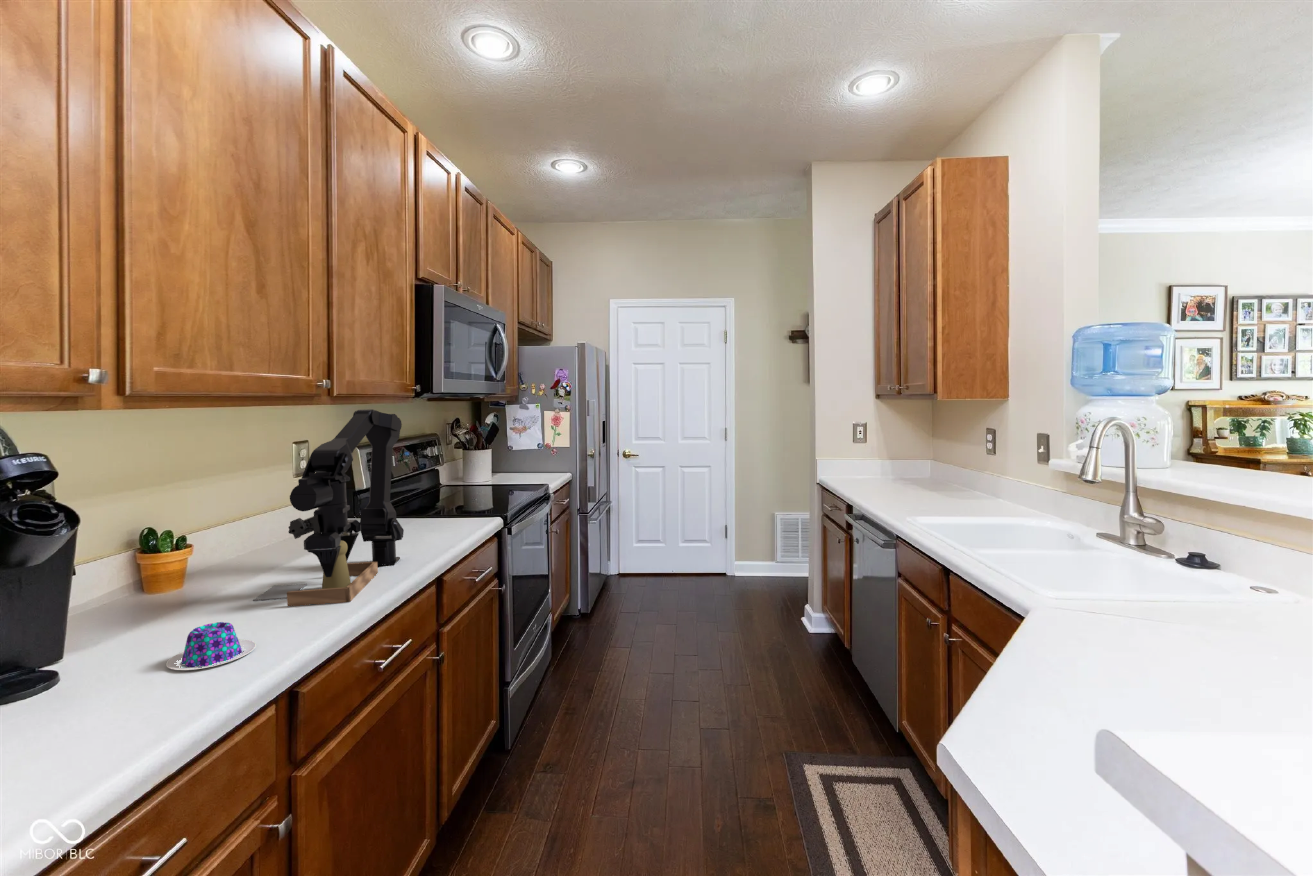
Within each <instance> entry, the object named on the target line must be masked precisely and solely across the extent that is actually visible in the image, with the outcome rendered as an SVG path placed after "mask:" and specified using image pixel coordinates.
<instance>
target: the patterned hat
mask: <svg viewBox="0 0 1313 876" xmlns="http://www.w3.org/2000/svg"><path fill="white" fill-rule="evenodd" d="M243 645H244V646H243ZM241 647H244V649H246V650H245V651H244V652H243V649H242V648H241ZM256 647H257V644H256V642H255V641H253V640H250V639H245V638H244V639H239V638H238V635H237V632H236V630H235V628H234V626H233V624H232V623H230V622H223V621H220V622H214V623H207V624H203V625H201V626H197V627H195V628H193V629H192V630H191V631H190V632H189V633H188V635H187V637H186V641H185V647H184V650H183V651H181V652H179V653H177V654H175V655H173V656H172V657H170V658H169V659H168V660H167V661H166V664H165V665H166V667H167V668H168V669H171V670H175V671H193V670H194V671H195V670H200V669H201V670H202V669H207V668H212V667H216V666H217V667H218V666H221V665H223V664H227V663H231V662H233V661H236V660H237V659H240V658H242V657H244V656H246V655H248V654H250V653H251V652H252V651H253V650H255V649H256ZM242 652H243V654H242V655H240V653H242ZM238 654H239V655H240V656H239V655H238ZM236 655H237V656H239V657H237V656H236ZM233 656H234V657H233ZM235 657H236V658H235ZM181 658H182V662H181V663H182V664H185V667H186V666H187V668H181V666H180V668H179V666H176V665H177V664H174V663H177V662H176V661H177V660H178V661H179V660H181ZM231 658H232V660H231ZM233 658H235V659H233ZM229 659H230V661H228V662H226V660H229ZM220 661H225V662H224V663H223V662H220ZM217 662H219V663H221V664H219V663H217ZM214 663H216V664H217V665H216V664H214ZM182 664H181V665H182ZM212 664H214V666H211V665H212ZM199 665H200V666H199ZM208 665H210V666H208ZM195 666H197V667H195ZM202 666H204V667H202ZM206 666H207V667H206ZM198 667H202V668H198Z"/></svg>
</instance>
